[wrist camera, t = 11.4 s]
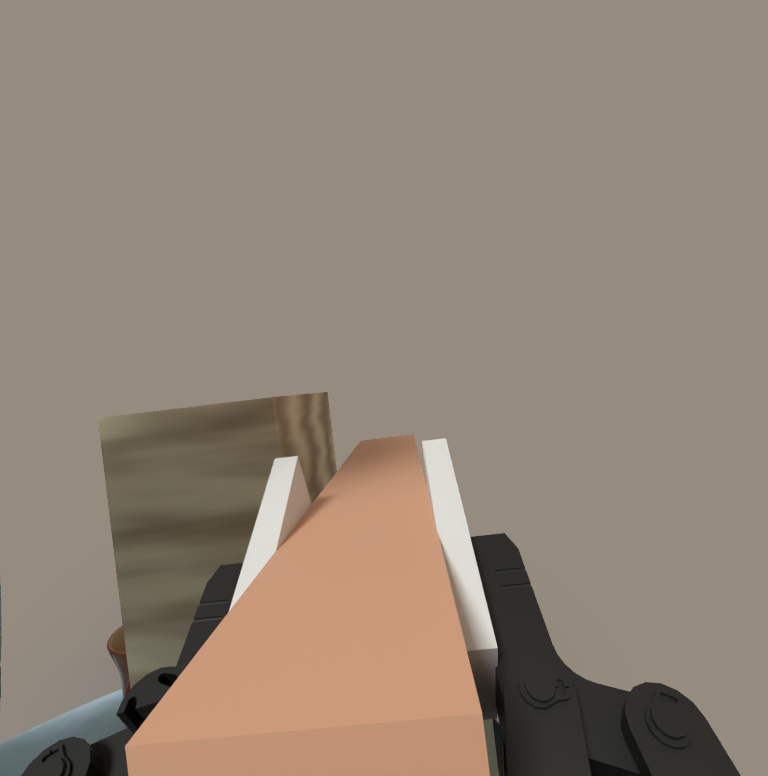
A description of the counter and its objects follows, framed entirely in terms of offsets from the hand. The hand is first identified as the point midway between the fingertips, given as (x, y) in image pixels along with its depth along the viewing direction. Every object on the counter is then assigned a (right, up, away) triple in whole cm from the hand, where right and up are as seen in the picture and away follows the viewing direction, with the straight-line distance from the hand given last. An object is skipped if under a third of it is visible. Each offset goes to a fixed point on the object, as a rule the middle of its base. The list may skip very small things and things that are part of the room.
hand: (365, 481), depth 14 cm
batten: (+1, -5, +4) cm, 6 cm away
